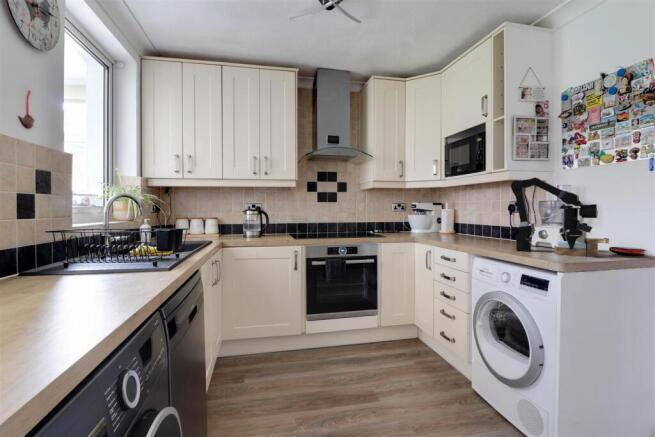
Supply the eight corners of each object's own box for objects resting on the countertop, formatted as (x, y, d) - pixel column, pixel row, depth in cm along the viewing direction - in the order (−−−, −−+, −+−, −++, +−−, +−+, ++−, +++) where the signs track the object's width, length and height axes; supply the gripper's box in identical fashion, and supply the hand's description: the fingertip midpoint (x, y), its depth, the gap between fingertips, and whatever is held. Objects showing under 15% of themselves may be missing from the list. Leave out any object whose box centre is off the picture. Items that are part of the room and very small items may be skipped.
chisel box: (556, 254, 159) (556, 238, 159) (554, 253, 164) (554, 237, 164) (597, 256, 152) (597, 239, 151) (593, 255, 157) (594, 238, 157)
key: (588, 242, 154) (588, 237, 154) (586, 242, 157) (587, 237, 157) (609, 243, 151) (609, 238, 150) (606, 242, 153) (606, 237, 153)
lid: (558, 247, 158) (558, 242, 158) (555, 245, 165) (555, 240, 165) (585, 248, 153) (585, 243, 153) (581, 246, 160) (581, 241, 160)
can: (589, 251, 169) (589, 229, 169) (573, 251, 171) (573, 229, 170) (580, 250, 176) (581, 228, 176) (565, 249, 178) (566, 228, 178)
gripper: (596, 218, 146) (595, 251, 147) (585, 217, 163) (584, 247, 164) (567, 218, 152) (566, 250, 152) (559, 217, 168) (558, 245, 169)
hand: (569, 248), depth 159 cm, fingers closed on lid, 7 cm apart
